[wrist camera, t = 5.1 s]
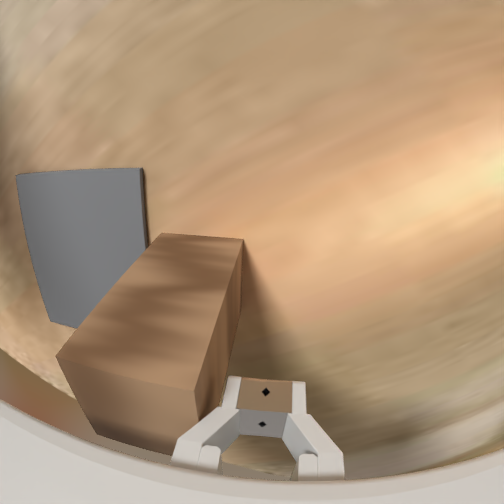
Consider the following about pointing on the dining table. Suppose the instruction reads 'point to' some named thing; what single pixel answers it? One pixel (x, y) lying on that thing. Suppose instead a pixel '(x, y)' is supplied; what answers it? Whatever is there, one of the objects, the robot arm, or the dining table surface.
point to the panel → (81, 234)
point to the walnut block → (159, 342)
